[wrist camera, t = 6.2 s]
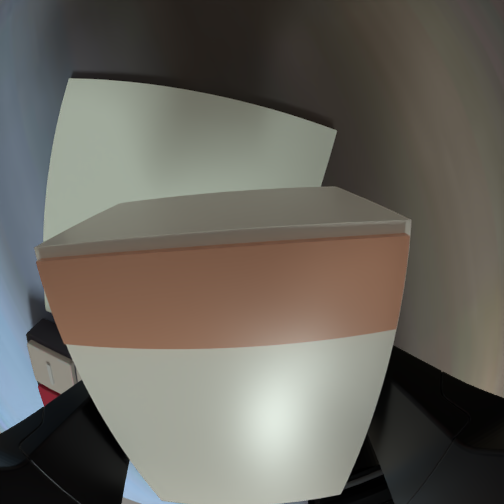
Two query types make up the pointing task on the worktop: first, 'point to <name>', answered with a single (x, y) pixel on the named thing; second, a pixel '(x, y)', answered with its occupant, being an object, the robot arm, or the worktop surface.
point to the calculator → (50, 361)
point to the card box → (233, 334)
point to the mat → (170, 148)
